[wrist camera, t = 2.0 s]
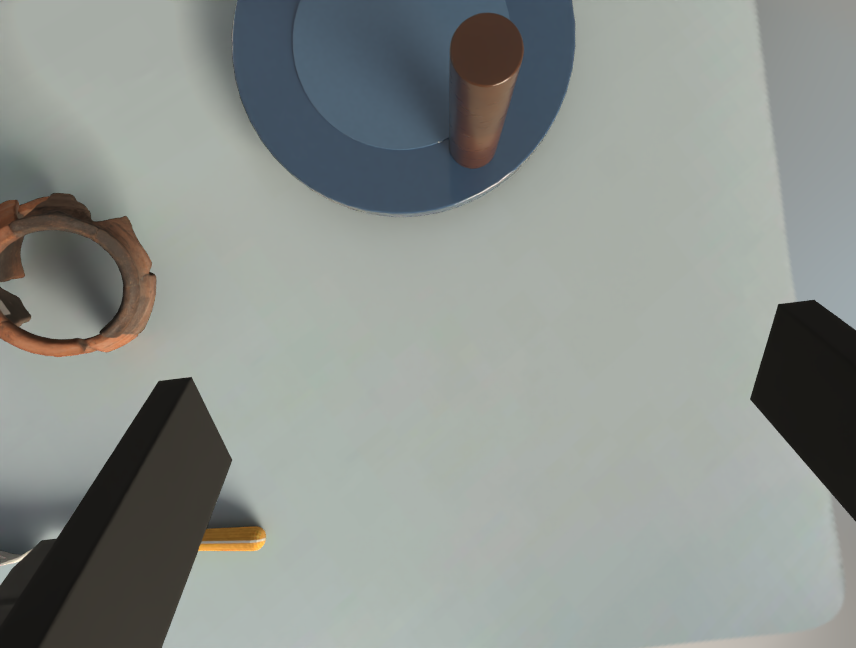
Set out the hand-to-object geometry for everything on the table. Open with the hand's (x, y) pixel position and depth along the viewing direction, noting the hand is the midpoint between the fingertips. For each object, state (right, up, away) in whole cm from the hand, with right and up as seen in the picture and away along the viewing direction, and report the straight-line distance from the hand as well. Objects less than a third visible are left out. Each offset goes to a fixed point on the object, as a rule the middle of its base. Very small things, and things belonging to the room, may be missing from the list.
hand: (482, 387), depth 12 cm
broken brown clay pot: (-23, +4, +19) cm, 30 cm away
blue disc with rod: (-3, +17, +17) cm, 24 cm away
